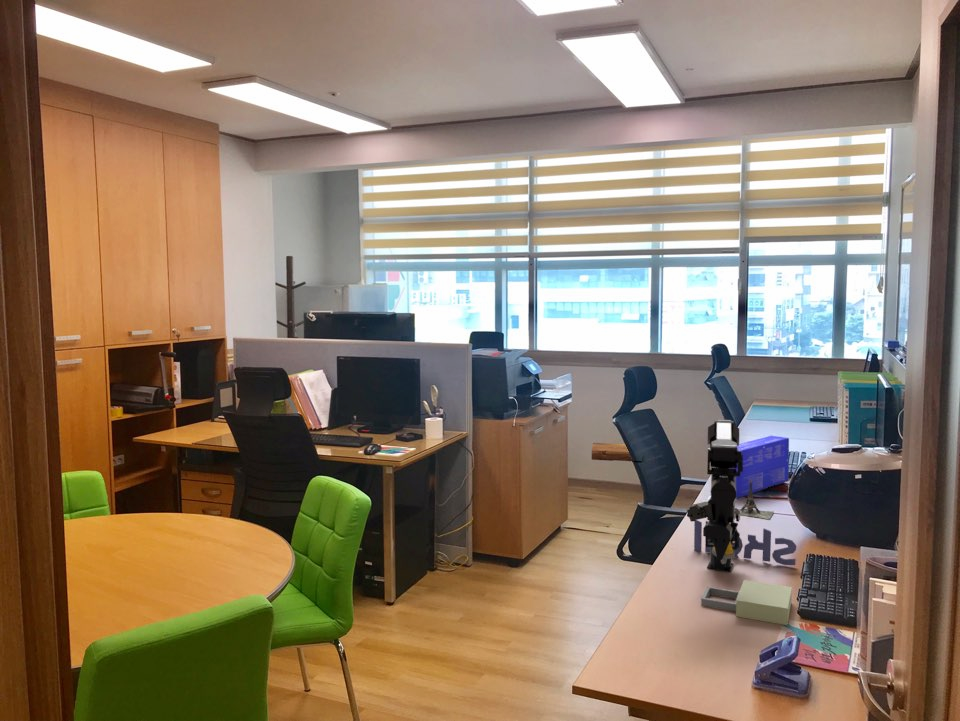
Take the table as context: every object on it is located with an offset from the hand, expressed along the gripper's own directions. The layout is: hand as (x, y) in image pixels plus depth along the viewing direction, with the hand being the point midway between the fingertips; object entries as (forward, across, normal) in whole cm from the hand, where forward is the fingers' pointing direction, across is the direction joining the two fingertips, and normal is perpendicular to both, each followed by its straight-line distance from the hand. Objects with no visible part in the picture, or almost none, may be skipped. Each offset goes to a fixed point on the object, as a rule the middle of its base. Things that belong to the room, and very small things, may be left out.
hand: (721, 555), depth 186 cm
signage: (+12, -35, +1) cm, 37 cm away
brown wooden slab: (+13, -149, -70) cm, 165 cm away
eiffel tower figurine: (+13, -84, -3) cm, 85 cm away
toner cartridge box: (+13, -120, -6) cm, 121 cm away
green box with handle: (+12, 0, 0) cm, 12 cm away
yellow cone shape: (+2, 0, 0) cm, 2 cm away
